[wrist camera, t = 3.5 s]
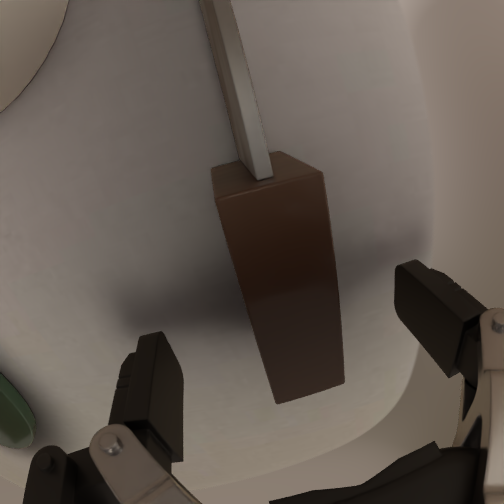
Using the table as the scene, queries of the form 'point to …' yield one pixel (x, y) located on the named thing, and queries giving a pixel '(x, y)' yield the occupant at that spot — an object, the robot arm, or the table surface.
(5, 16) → the cup
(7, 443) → the cake stand
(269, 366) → the knife
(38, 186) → the table surface
